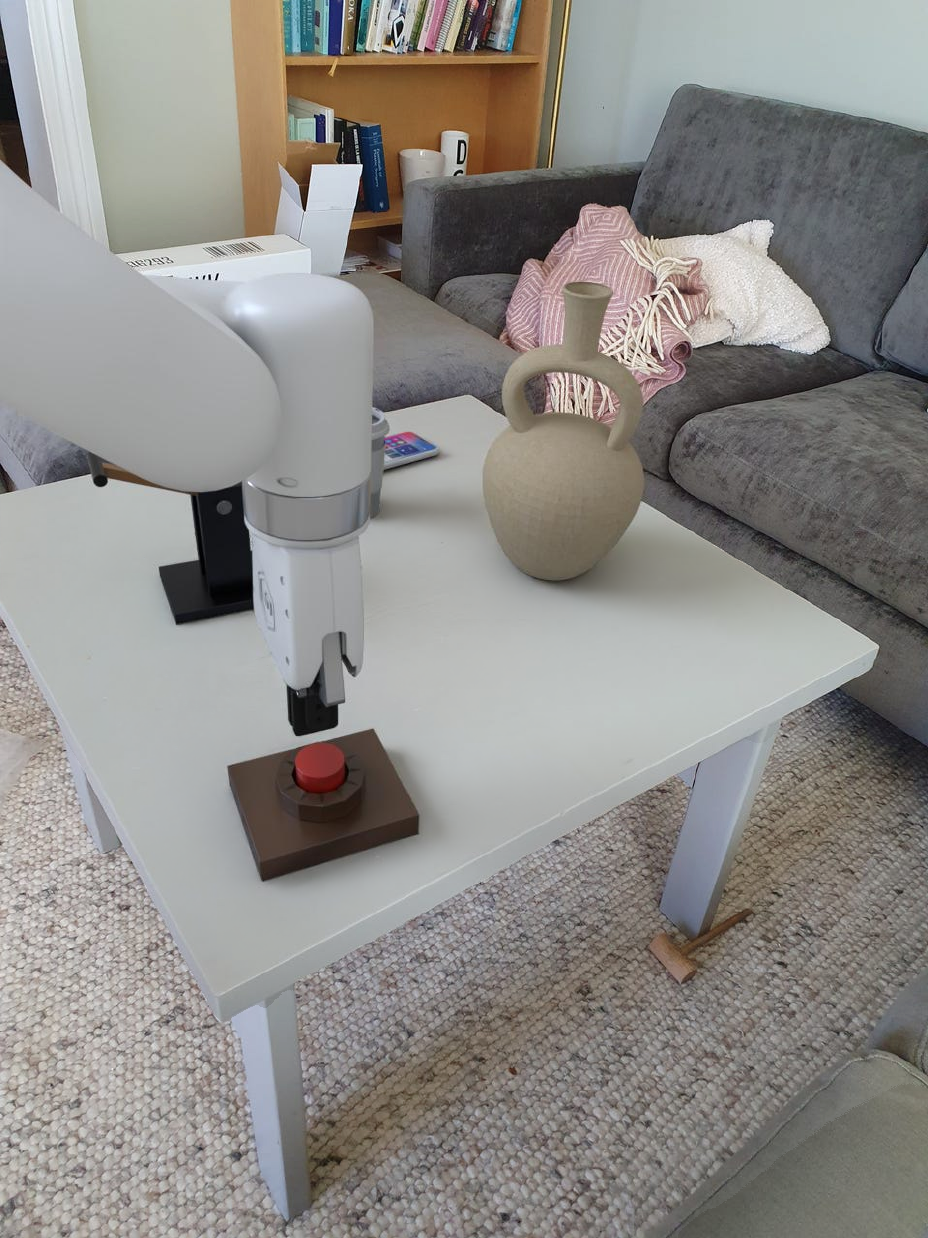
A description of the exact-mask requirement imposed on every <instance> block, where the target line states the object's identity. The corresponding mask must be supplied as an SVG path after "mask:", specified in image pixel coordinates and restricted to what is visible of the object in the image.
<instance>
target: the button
mask: <svg viewBox="0 0 928 1238" xmlns="http://www.w3.org/2000/svg"><path fill="white" fill-rule="evenodd" d="M314 743H315V744H312V743H310V744H311V745H309V746H306V747H305V748H303V749H302V750H301V751H300V752H299V753H298V754H297V756H296V759H295V766H296V779H297V783H298V785H299V786H300V787H301V788H302V789H303V790H305V791H307V792H310V793H316V794H324V793H327V792H331V791H334V790H336V789H337V788H338V787H339V786H340V785H341V784H342V783H343V781H344V778H345V758H344V754H343V753H342V751H341V750H340V749H339V748H338V747H336V746H334V745H332V744H328V743H316V742H314Z"/></svg>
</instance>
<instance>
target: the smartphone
mask: <svg viewBox="0 0 928 1238" xmlns="http://www.w3.org/2000/svg"><path fill="white" fill-rule="evenodd" d="M385 443H386V444H385V456H384V468H383V471H385V470H388V469H391V468H392V469H393V468H396V467H400V466H403V465H406V464H410V463H413V462H416V461H420V460H424V459H427V458H431V457H434V456H437V455H438V454H439V453H440V448H439V447H438V446H437V445H435V444H434V443H432V442H430V441H429V440H427V439H425V438H424V437H422V436H421V435H419V434H417V433H416V432H414V431H403V432H400V433H395V434H391V435H388V436H387V435H386V436H385Z"/></svg>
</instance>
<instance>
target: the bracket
mask: <svg viewBox="0 0 928 1238" xmlns="http://www.w3.org/2000/svg"><path fill="white" fill-rule="evenodd" d="M189 496H190V497H189V498H190V505H191V511H192V519H193V528H194V535H195V542H196V550H197V556H198V558H197V559H195V560H190V561H189V560H188V561H183V562H177V563H172V564H165V565H160V566H158V572H159V578H160V581H161V584H162V586H163V590H164V593H165V596H166V599H167V601H168V605H169V608H170V611H171V614H172V617H173V620H174V623H175V625H181V624H187V623H191V622H196V621H203V620H207V619H212V618H213V619H214V618H217V617H221V616H227V615H234V614H238V613H242V612H248V611H253V610H254V601H253V553H252V549H251V548H252V547H251V535H250V531H249V530H248V528H247V526H246V524H245V519H244V508H243V494H242V481H241V482H239V483H237V484H235V485H233V486H231V487H227V488H224V489H221V490H217V491H208V492H196V496H194V495H189Z"/></svg>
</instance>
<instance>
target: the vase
mask: <svg viewBox="0 0 928 1238" xmlns="http://www.w3.org/2000/svg"><path fill="white" fill-rule="evenodd" d="M561 292H562V298H563V308H564V309H563V311H564V313H563V315H564V316H563V317H564V318H563V334H562V335H563V336H562V344H549V345H541V346H538V347H535V348H532V349H529V350H527V351H526V352H525V353H523V354H522V355H520V356H519V357H517V358H516V359H515V360H514V361H513V363H511V365H510V366H509V367H508V369H507V372H506V374H505V376H504V378H503V382H502V386H501V387H502V388H501V390H502V391H501V401H502V407H503V411H504V414H505V417H506V419H507V422H508V424H509V426H507V427H506V428H505V429H504V430H502V431H501V432H500V433H499V434H498V435H497V437H495V439H494V440H493V442H492V443H491V445H490V446H489V449H488V450H487V453H486V456H485V459H484V462H483V467H482V492H483V500H484V505H485V509H486V513H487V516H488V520H489V523H490V526H491V529H492V531H493V533H494V536H495V538H496V541H497V543H498V545H499V546H500V548H501V550H502V552H503V553H504V555H505V556H506V557H507V559H508V560H509V561H510V563H511V564H512V565H513V566H514V567H515V568H517V569H518V570H520V571H521V572H522V573H524V574H526V575H528V576H531V577H534V578H536V579H540V580H546V581H551V582H552V581H565V580H569V579H574V578H576V577H578V576H581V575H582V574H584V573H586V572H588V571H590V569H592V568H593V567H594V566H595V565H597V564H598V563H599V562H601V560H602V559H603V558H605V556H606V555H608V553H609V552H610V551H611V550H612V549H613V548H614V547H615V546H616V544H617V543H618V542H619V541H620V540H621V539H622V537H623V535H624V534H625V533H626V531H627V530H628V528H629V527H630V526H631V524H632V523H633V522H634V521H633V520H634V519H635V517H636V515H637V513H638V512H639V511H638V510H639V508H640V506H641V502H642V498H643V496H644V491H645V475H644V469H643V465H642V463H641V460H640V456H639V455H638V453H637V451H636V450H635V448H634V447H633V446H632V445H631V443H630V442H629V441H630V440H631V439H632V437H633V436H634V435H635V432H636V430H637V428H638V426H639V424H640V421H641V419H642V416H643V413H644V395H643V391H642V388H641V387H640V384H639V382H638V379H637V378H636V377H635V376H634V374H633V373H632V372H631V371H630V370H629V369H628V367H626V366H625V365H624V364H623V363H621V362H620V361H618V360H617V359H615V358H613V357H611V356H609V355H607V354H606V353H604V352H600V351H599V347H600V339H601V333H602V329H603V324H604V320H605V315H606V314H607V313H606V312H607V310H608V306H609V304H610V300H611V298H612V296H613V295H614V290H613V289H612V288H611V287H609V286H608V285H606V284H602V283H598V282H593V281H592V282H591V281H581V280H579V281H570V282H569V281H568V282H567V283H564V284H563V285H562V286H561ZM552 373H565V374H571V375H578V376H583V377H586V378H589V379H591V380H594V381H596V382H597V383H601V385H603V386H605V387H607V388H608V389H609V390H610V391H612V393H613V394H614V395H615V397H616V399H617V400H618V402H619V407H618V411H617V413H616V415H615V417H614V420H613V422H612V425H611V426H610V425H608V424H607V423H605V422H602V421H600V420H597V419H595V418H594V417H590V416H586V415H583V414H578V413H574V412H561V411H553V412H549V411H547V412H544V413H538V414H535V413H534V412H533V411H532V409H531V407H530V406H529V403H528V401H527V396H526V392H525V387H526V383H527V382H528V381H530V380H531V379H533V378H534V377H537V376H539V375H544V374H545V375H546V374H552Z"/></svg>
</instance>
